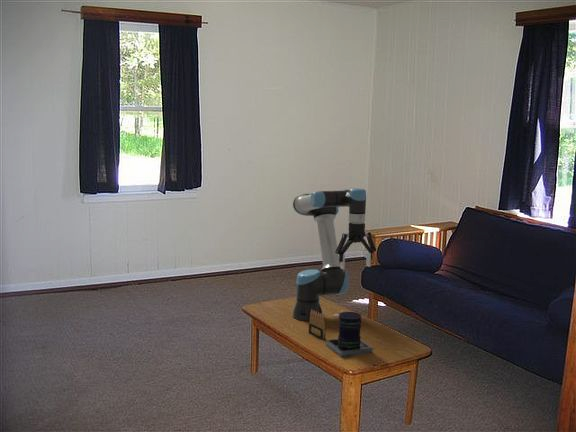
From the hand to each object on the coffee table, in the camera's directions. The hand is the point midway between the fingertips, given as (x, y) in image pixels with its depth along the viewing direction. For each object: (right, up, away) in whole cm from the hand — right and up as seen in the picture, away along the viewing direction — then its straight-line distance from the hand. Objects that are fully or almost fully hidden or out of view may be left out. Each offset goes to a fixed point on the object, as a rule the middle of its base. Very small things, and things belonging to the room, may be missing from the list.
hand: (355, 267), depth 306 cm
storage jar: (-4, -34, -16) cm, 38 cm away
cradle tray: (-5, -35, -16) cm, 38 cm away
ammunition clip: (-18, -32, 0) cm, 37 cm away
